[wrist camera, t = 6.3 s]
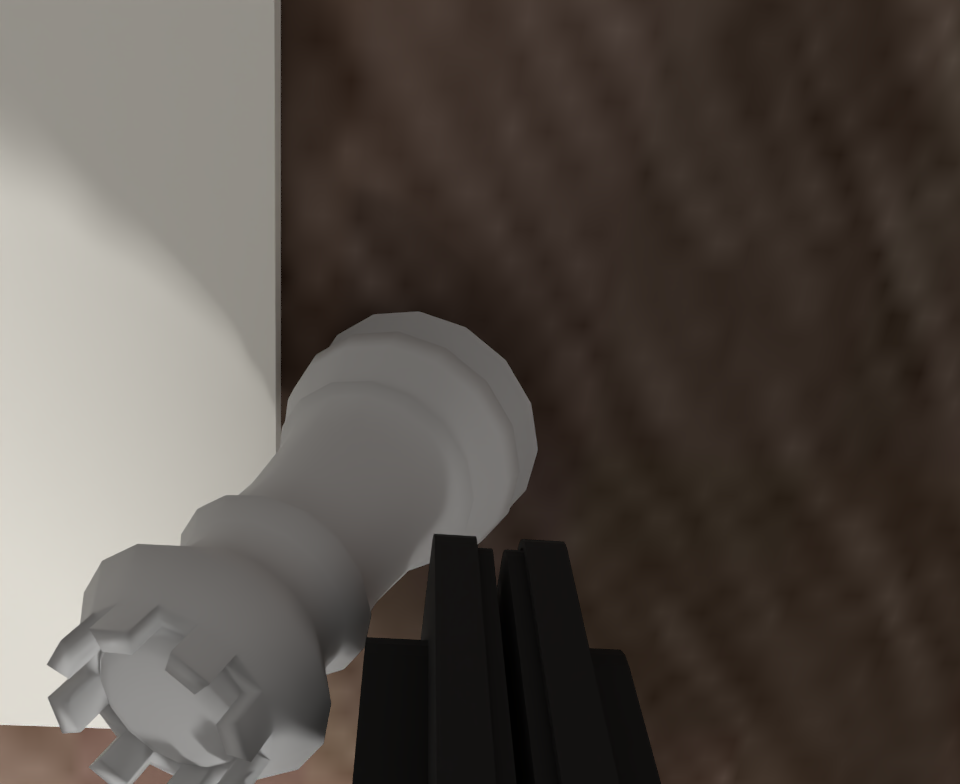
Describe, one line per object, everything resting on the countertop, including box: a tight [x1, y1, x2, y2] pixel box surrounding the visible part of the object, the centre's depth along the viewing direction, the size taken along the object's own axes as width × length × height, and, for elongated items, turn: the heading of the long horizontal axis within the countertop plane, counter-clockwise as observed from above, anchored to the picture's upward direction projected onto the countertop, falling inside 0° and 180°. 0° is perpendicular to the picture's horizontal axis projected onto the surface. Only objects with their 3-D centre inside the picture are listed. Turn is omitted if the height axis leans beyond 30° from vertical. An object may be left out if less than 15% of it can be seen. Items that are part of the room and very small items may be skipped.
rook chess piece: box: [47, 311, 538, 784], centre depth 12 cm, size 4×4×8 cm
